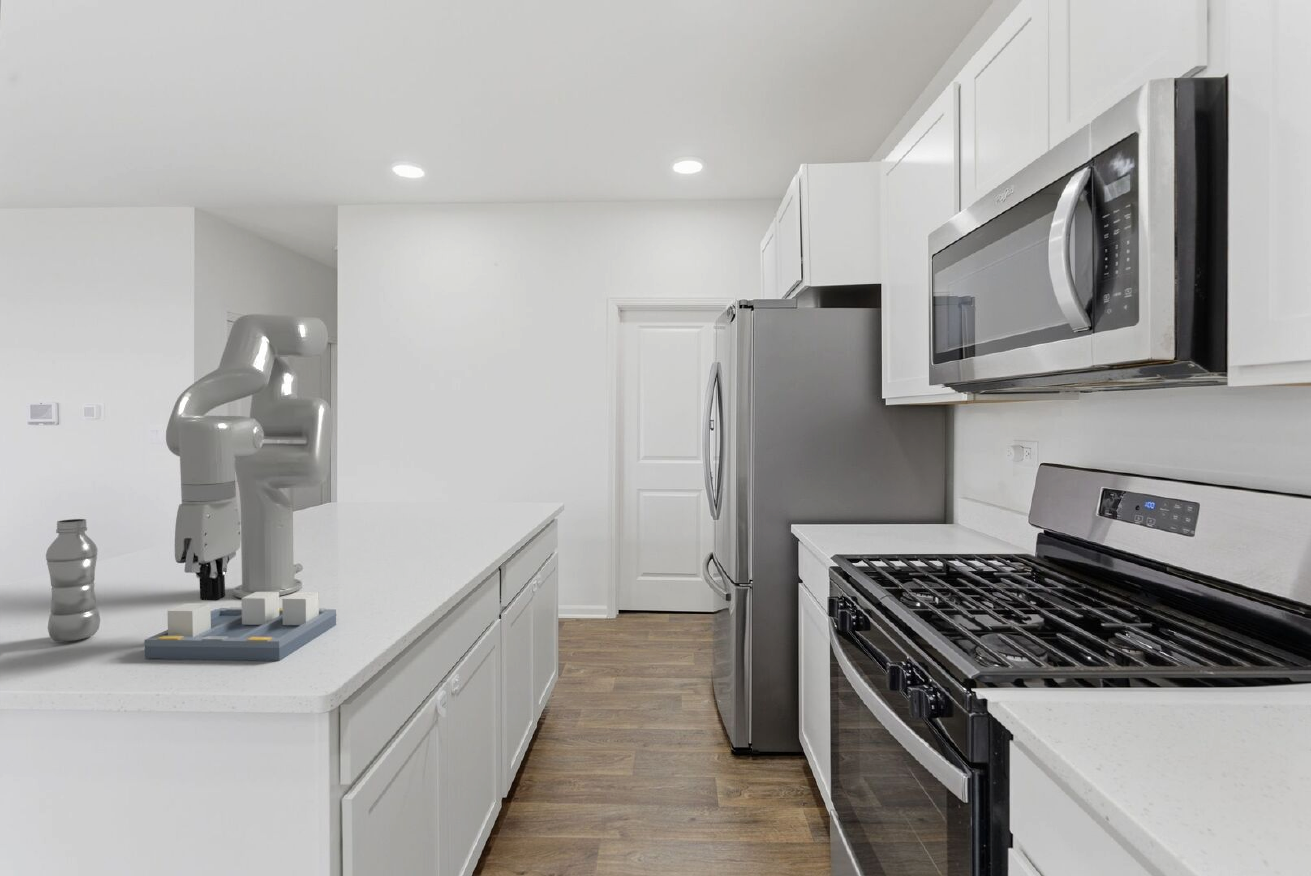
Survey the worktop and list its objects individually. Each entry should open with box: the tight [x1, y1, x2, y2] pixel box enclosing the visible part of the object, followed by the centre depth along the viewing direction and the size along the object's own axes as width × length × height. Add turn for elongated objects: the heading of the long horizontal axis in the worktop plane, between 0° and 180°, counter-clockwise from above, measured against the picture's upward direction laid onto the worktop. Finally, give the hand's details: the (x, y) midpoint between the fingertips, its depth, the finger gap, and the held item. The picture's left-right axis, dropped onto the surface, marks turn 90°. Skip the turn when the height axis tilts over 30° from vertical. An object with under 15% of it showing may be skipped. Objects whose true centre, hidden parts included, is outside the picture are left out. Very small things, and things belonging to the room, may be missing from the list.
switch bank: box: [144, 606, 337, 662], centre depth 107 cm, size 17×21×3 cm
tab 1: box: [167, 602, 211, 637], centre depth 103 cm, size 4×4×4 cm
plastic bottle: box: [45, 518, 101, 642], centre depth 107 cm, size 6×7×20 cm
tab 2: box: [241, 592, 280, 625], centre depth 111 cm, size 4×4×4 cm
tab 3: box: [281, 591, 320, 625], centre depth 111 cm, size 4×4×4 cm
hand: (212, 598), depth 109 cm, fingers closed
